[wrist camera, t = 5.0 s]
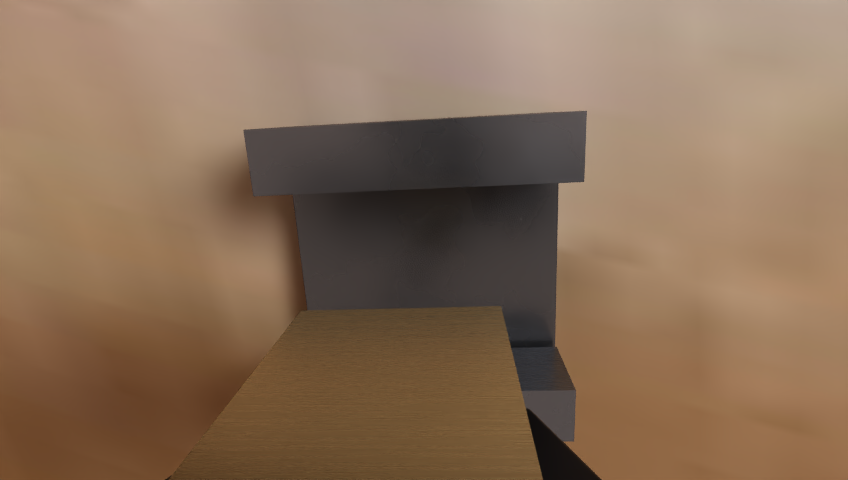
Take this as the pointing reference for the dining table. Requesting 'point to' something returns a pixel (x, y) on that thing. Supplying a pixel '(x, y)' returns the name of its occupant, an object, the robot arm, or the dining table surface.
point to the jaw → (547, 388)
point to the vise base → (428, 211)
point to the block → (376, 402)
